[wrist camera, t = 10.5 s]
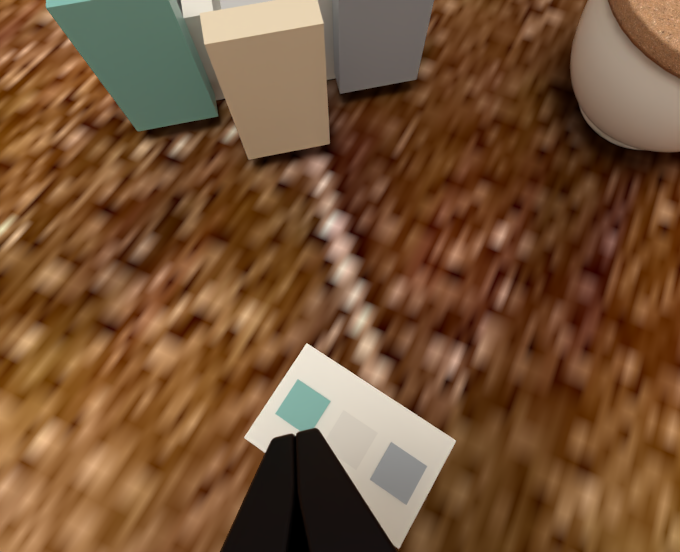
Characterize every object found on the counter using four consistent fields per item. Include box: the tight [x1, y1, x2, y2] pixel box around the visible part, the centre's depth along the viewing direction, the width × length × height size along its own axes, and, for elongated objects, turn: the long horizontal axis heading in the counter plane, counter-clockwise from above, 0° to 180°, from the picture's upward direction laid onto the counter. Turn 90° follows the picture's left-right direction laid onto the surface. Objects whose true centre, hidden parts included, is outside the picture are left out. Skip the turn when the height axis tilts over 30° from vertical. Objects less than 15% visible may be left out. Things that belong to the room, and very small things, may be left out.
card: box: [244, 344, 456, 549], centre depth 19 cm, size 8×5×1 cm, turn 57°
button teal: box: [46, 0, 218, 131], centre depth 21 cm, size 7×4×8 cm, turn 12°
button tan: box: [200, 0, 330, 160], centre depth 20 cm, size 7×4×8 cm, turn 12°
